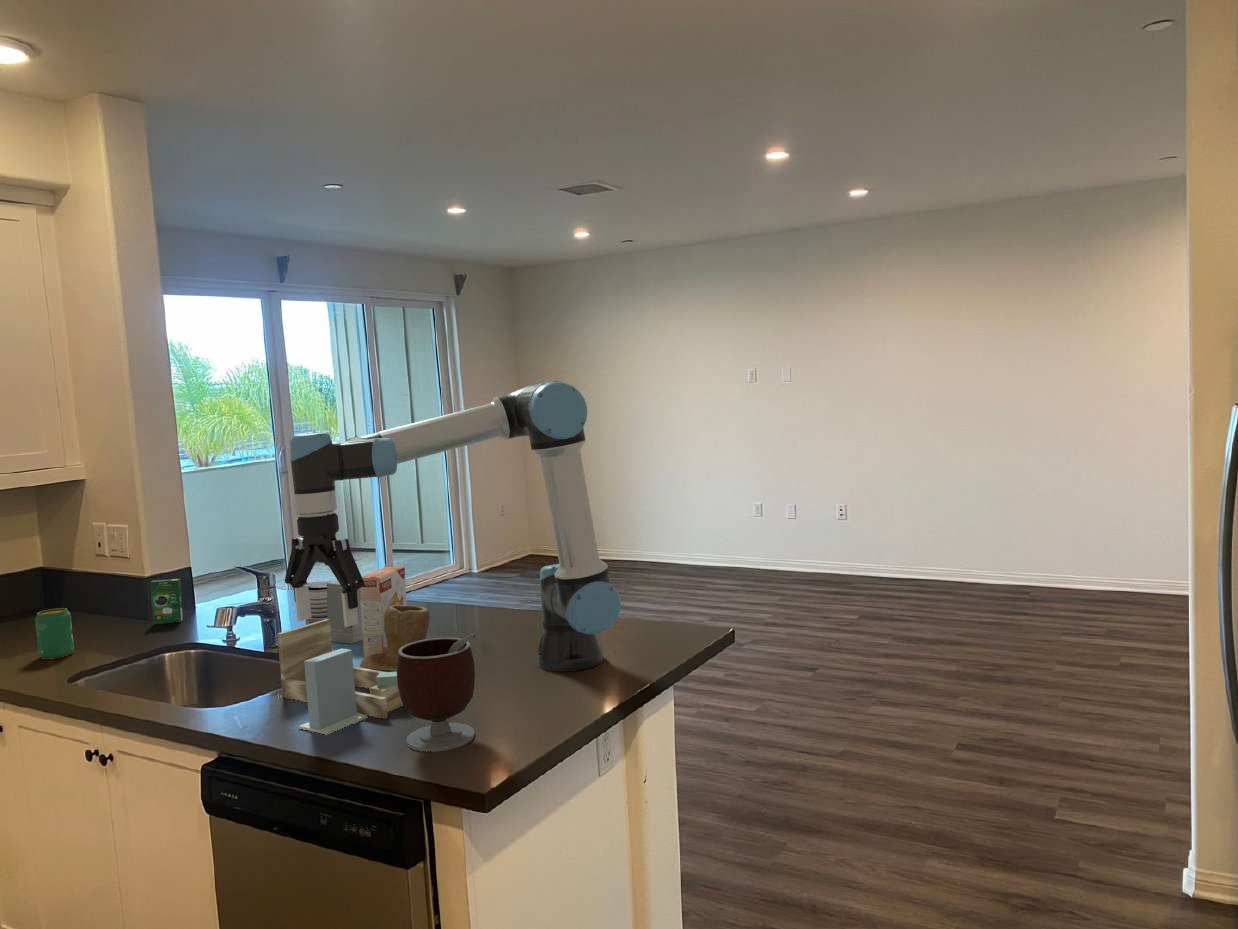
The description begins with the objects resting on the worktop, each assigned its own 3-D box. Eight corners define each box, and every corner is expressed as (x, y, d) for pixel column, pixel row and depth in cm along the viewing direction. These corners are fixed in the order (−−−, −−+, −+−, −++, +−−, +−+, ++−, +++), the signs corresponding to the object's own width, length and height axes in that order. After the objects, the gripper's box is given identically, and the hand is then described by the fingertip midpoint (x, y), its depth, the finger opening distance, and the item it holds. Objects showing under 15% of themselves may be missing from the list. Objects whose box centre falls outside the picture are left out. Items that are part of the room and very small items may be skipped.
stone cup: (443, 664, 212) (439, 601, 211) (412, 679, 201) (408, 613, 200) (391, 659, 218) (386, 598, 217) (358, 674, 207) (353, 610, 206)
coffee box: (184, 620, 272) (180, 577, 271) (182, 622, 269) (178, 579, 268) (155, 623, 270) (151, 580, 269) (152, 625, 267) (148, 582, 266)
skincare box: (327, 643, 237) (322, 583, 235) (345, 635, 243) (340, 578, 242) (353, 644, 234) (348, 584, 232) (370, 637, 240) (366, 578, 239)
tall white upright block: (356, 714, 179) (351, 650, 178) (319, 729, 171) (314, 662, 170) (346, 712, 180) (341, 648, 179) (309, 727, 173) (304, 660, 172)
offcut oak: (416, 701, 188) (415, 690, 187) (385, 716, 180) (384, 704, 180) (398, 698, 190) (398, 687, 190) (367, 713, 182) (366, 701, 182)
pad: (367, 718, 178) (367, 715, 178) (326, 735, 169) (326, 732, 169) (340, 712, 182) (340, 709, 182) (299, 729, 174) (298, 726, 174)
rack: (430, 698, 188) (426, 632, 187) (383, 719, 177) (378, 649, 176) (331, 679, 204) (326, 619, 203) (282, 697, 193) (277, 633, 192)
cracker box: (386, 663, 215) (380, 577, 213) (363, 663, 216) (356, 577, 214) (411, 647, 228) (405, 565, 227) (389, 647, 230) (383, 566, 228)
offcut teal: (401, 685, 183) (401, 675, 183) (377, 686, 183) (376, 677, 183) (404, 680, 186) (404, 671, 186) (380, 682, 186) (380, 672, 186)
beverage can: (78, 654, 238) (74, 610, 237) (44, 662, 232) (39, 616, 232) (69, 649, 244) (64, 606, 243) (35, 657, 238) (30, 612, 237)
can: (306, 621, 262) (303, 581, 261) (347, 616, 265) (344, 576, 264) (305, 630, 251) (301, 588, 250) (347, 625, 254) (344, 583, 253)
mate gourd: (386, 749, 161) (378, 640, 159) (429, 722, 174) (422, 620, 172) (461, 758, 155) (454, 644, 154) (500, 728, 168) (493, 623, 167)
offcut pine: (410, 692, 186) (409, 680, 186) (384, 702, 180) (383, 690, 180) (396, 689, 188) (395, 678, 188) (370, 700, 183) (369, 688, 182)
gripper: (377, 511, 169) (387, 622, 171) (291, 509, 182) (301, 612, 184) (345, 518, 163) (356, 633, 164) (259, 515, 176) (270, 621, 178)
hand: (327, 622), depth 174 cm, fingers open, 13 cm apart
